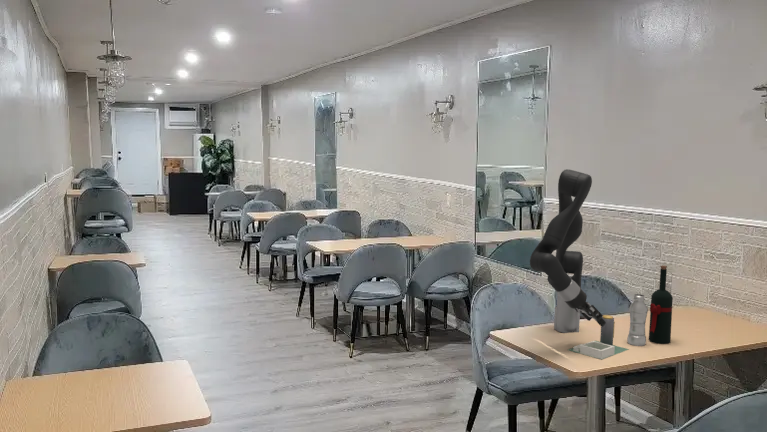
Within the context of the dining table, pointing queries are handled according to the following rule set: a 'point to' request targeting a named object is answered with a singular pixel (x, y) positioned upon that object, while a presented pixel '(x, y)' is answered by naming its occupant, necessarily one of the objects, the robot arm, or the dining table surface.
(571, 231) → the robot arm
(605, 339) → the dark grey cylinder
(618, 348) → the board
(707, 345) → the dining table surface
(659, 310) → the wine bottle
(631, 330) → the plastic bottle
